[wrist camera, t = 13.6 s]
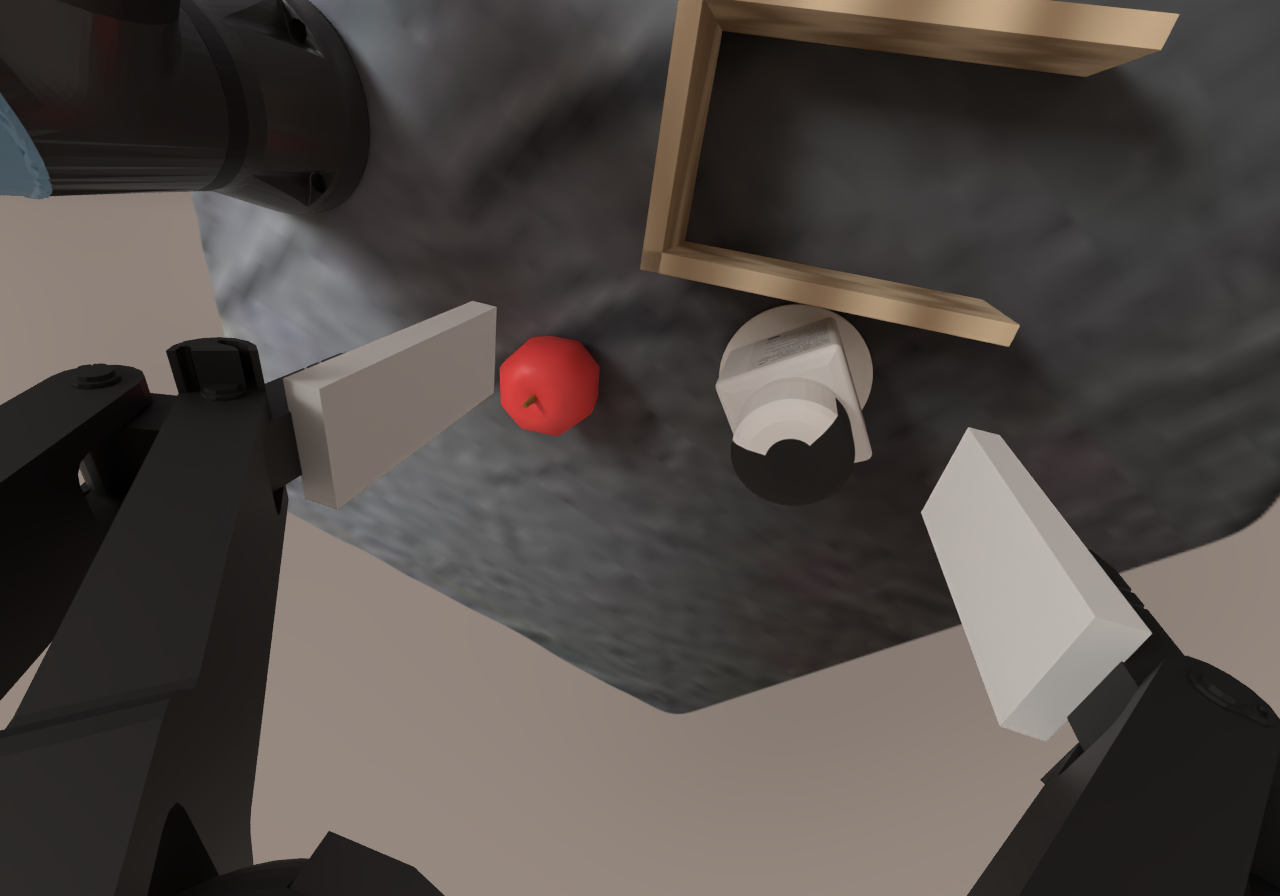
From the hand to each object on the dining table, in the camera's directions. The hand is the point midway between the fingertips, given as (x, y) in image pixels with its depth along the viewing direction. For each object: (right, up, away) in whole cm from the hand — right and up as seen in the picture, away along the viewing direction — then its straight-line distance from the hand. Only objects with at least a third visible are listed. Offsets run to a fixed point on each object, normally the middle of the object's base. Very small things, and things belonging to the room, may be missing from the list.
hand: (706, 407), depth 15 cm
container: (+10, +4, +25) cm, 27 cm away
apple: (-8, +6, +30) cm, 32 cm away
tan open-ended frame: (+12, +16, +18) cm, 27 cm away
